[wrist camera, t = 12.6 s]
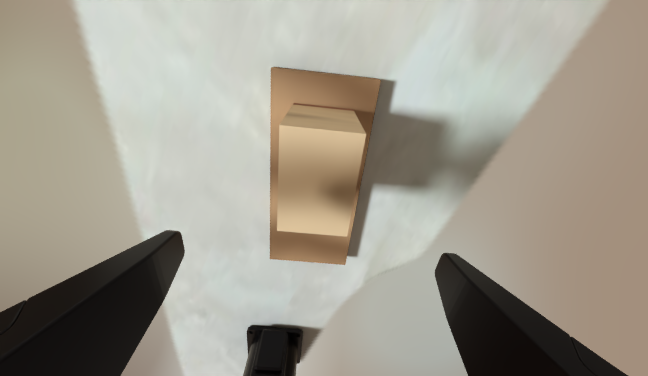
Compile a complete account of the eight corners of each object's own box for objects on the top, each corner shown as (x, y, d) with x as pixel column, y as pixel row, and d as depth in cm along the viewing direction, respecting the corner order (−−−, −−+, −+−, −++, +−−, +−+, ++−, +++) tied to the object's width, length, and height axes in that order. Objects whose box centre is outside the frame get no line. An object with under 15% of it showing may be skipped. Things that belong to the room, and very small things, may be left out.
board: (344, 255, 25) (345, 264, 23) (272, 250, 24) (269, 258, 23) (377, 78, 17) (380, 80, 16) (274, 66, 17) (270, 67, 16)
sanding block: (340, 187, 20) (347, 236, 14) (289, 183, 20) (276, 230, 14) (353, 109, 17) (366, 134, 12) (293, 102, 17) (279, 124, 11)
